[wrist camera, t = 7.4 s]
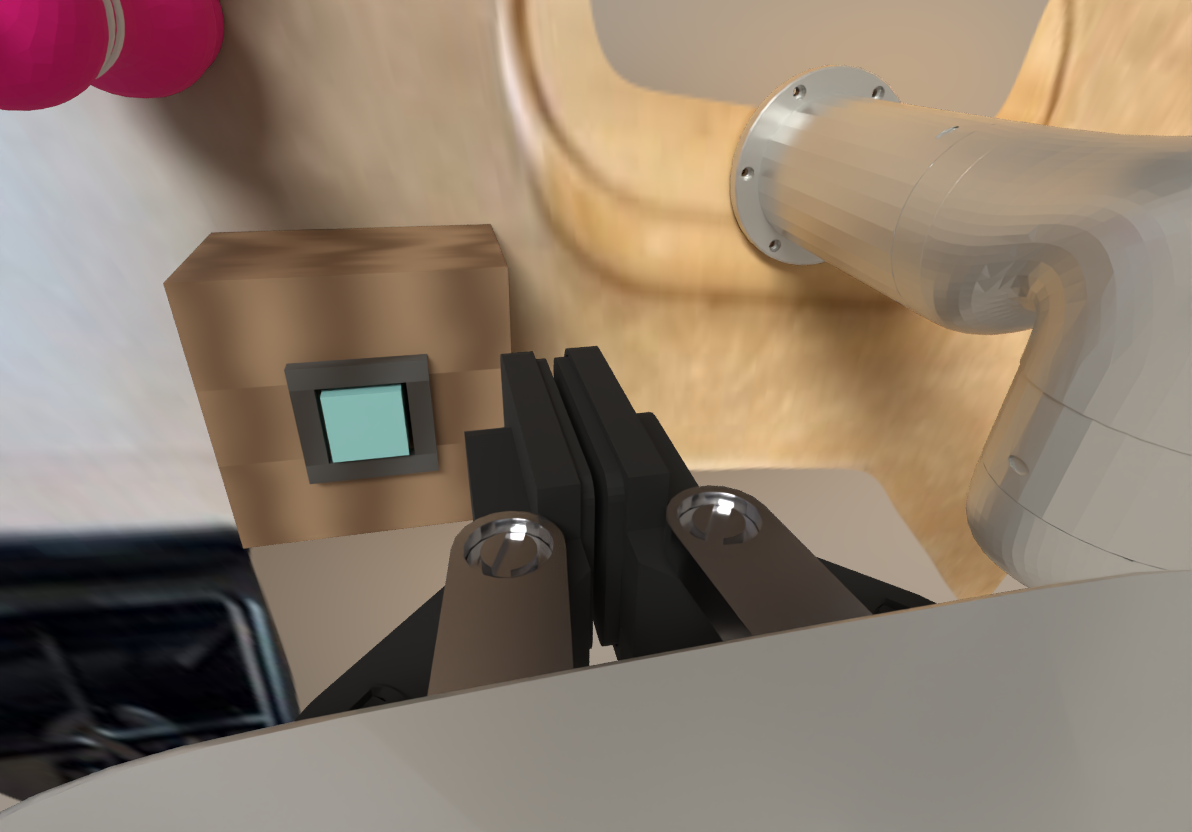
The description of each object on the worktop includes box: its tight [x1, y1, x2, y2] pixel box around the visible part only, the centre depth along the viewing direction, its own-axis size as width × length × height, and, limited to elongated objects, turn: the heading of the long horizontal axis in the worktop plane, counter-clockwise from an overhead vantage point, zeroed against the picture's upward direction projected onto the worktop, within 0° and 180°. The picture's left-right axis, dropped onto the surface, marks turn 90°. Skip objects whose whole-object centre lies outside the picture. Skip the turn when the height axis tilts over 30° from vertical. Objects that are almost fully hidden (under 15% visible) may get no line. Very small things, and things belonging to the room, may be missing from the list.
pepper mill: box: [0, 0, 224, 111], centre depth 25 cm, size 7×7×20 cm
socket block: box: [163, 224, 511, 548], centre depth 40 cm, size 16×16×10 cm
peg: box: [320, 382, 409, 463], centre depth 40 cm, size 4×4×10 cm
